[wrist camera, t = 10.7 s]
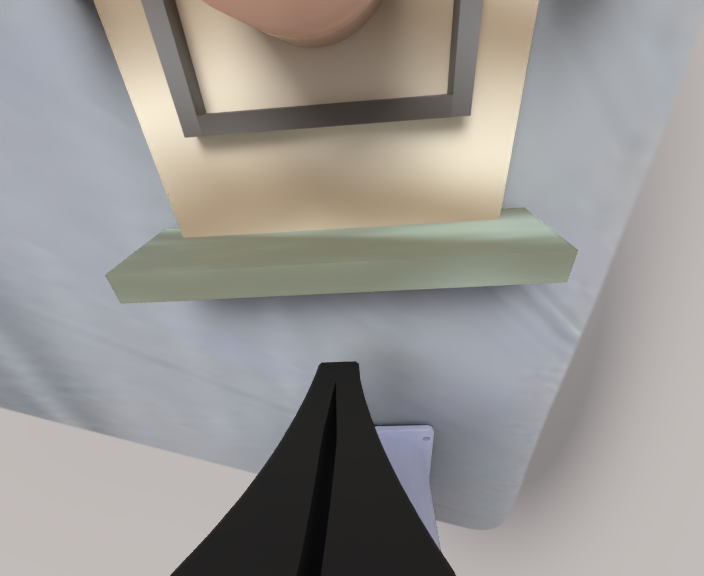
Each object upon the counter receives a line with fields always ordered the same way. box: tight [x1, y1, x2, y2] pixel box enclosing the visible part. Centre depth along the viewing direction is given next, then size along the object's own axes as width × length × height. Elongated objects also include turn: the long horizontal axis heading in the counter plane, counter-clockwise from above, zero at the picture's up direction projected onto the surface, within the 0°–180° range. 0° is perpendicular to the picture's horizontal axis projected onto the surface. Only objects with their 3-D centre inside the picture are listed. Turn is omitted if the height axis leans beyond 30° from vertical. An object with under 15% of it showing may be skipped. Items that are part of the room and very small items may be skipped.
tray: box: [93, 0, 578, 304], centre depth 9 cm, size 15×16×4 cm
